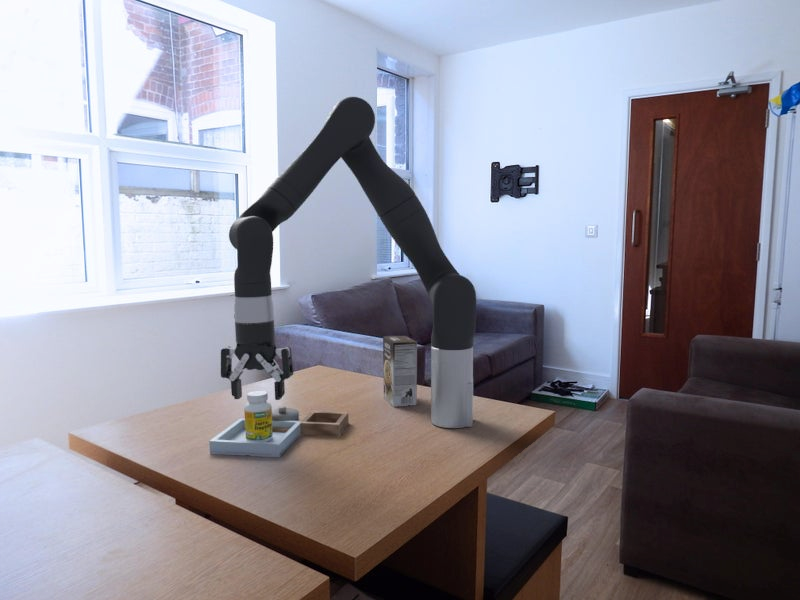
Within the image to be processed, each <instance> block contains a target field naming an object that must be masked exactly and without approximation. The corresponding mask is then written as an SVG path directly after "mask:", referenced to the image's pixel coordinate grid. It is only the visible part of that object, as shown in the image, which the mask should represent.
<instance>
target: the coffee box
mask: <svg viewBox="0 0 800 600" xmlns="http://www.w3.org/2000/svg"><path fill="white" fill-rule="evenodd" d="M382 353H383V354H382V357H383V358H382V359H383V360H382V361H383V362H382V363H383V398H384V399H385V400H386V401H387V402H388V403H389V404H390V406H392V407H394V408H397V407H398V406H399V407H407V406H408V405H410V406H416V405H415V404H417V402H418V401H417V400H418V399H417V397H418V395H417V392H418V391H417V389H418V388H417V387H418V386H417V385H418V384H417V382H418V381H417V380H418V378H417V377H418V373H417V372H418V341H417V340H414V339H412V338H410V337H409V336H407V335H386V336H382ZM399 407H398V408H399ZM408 407H409V406H408Z"/></svg>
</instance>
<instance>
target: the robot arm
mask: <svg viewBox="0 0 800 600" xmlns="http://www.w3.org/2000/svg"><path fill="white" fill-rule="evenodd" d="M375 124H376V114H375V112H374V109H373V107H372V106H371V104H370V103H369V102H368V101H367V100H365V99H364V98H361V97H358V96H348V97H345V98H343V99H341V100H339V101H337V103H335V105H334V106H333V108H332V109H331V110H330V112H329V114H328V115H327V117H326V120H325V123H324V126H323V127H322V128H321V129H320V131H319V132H318V133H317V135H316V136H315V137H314V138H313V140H312V141H311V142H310V143H309V144H308V145H307V146H306V148H305V149H304V150H303V151H302V152H301V153H300V154H299V155H298V156H297V157H296V158H295V159H294V160H293V161H292V162H291V163H290V164H289V165H288V166H287V167H286V168H285V169H284V170H283V171H282V172H281V173H280V174H279V175H278V176H277V178H275V180H274V181H273V182H272V183H271V184H270V185H269V186H268V188H266V189H265V191H264V192H263V193H262V195H261V196H260V197H259V198H258V199H257V200H256V201H255V202H253V203H252V204H251V205H250V206H249V207H248V208H247V209H246V210H244V211H243V212H242V213H241V214H240V215H239V216H238V217H237V218H236V219H235V220H234V222H233V223H232V224H231V226H230V228H229V231H228V240H229V242H230V244H231V246H232V247H233V248H234V249H235V250H236V251H237V267H236V269H235V270H234V274H233V275H234V276H233V278H234V279H233V283H234V287H233V288H234V308H233V310H234V314H233V318H234V329H235V331H234V332H235V342H236V346H235V347H232V346H229V345H228V346H225V347H223V348H221V350H220V377H221V378H222V379H228V380H229V381H230V390H231V392H230V393H231V396H232V397H233V398H234V400H239V399H241V398H242V396H243V390H242V387H243V386H242V378H240V377H241V376H242V374H243V373H244V372H245V370H247V371H252V370H258V371H263V370H265V371H266V372H267V373H268V374H269V375H270V376H271V377H272V378H273V379H274V382H273V383H274V399H275V401H280V400H281V399H282V398H283V397H284V396H285V393H286V392H285V389H286V388H285V387H286V386H285V380H288V379H289V378H291V377H292V376H293V375H294V367H293V366H294V365H293V355H292V348H291V346H286V347H282V348H277V346H276V344H275V343H276V336H275V335H276V334H275V331H276V330H275V315H274V314H275V313H274V312H275V311H274V302H273V296H272V295H273V294H272V279H271V268H272V265H273V263H272V262H273V261H272V260H273V254H274V253H273V252H274V235H273V234H274V233H273V232H274V231H275V230H276V229H277V228H278V226H280V225H281V224H283V223H285V222H286V221H288V220H289V219H290V218H291V217H292V216H293V215H294V214H295V213H296V212H297V211H299V208H301V206H302V205H303V204H304V203H305V202H306V200H307V199H308V198H309V197H310V196H311V194H312V193H313V192H314V191H315V189H316V188H317V187H318V186H319V184H320V183H321V182H322V180H323V179H324V178H325V176H326V175H327V174H328V173H329V171H331V169H332V168H333V167H334V165H335V164H336V163H338V161H339V160H340V159H342V160H343V162H344V163H345V164H346V166H347V167H348V168H349V170H350V171H351V172H352V174H353V175H354V177H355V178H356V180H357V181H358V183H359V185H360V187H361V189H362V191H363V192H364V194H365V195H366V197H367V199H368V201H369V203H370V204H371V206H372V207H373V209H374V210H375V212H376V214H377V215H378V218H379V219H380V221H381V222H382V224H383V226H384V228H385V229H386V230H387V232H388V233H389V235H390V236H391V238H392V239H393V241H394V242H395V244H396V245H397V246H398V247H399V249H400V251H402V253H403V254H404V255H405V256H406V258H407V259H408V260H409V262H410V263H411V264H412V266H413V267H414V269H415V271H416V273H417V274H418V276H419V278H420V281H421V283H422V285H423V286H424V287H423V288H425V291H426V293H427V295H428V297H429V299H430V302H431V304H432V305H433V307H432V308H433V309H432V310H433V314H432V315H433V316H432V317H433V318H432V319H433V321H432V332H431V336H430V337H431V338H430V340H431V341H430V345H431V347H430V361H431V362H430V366H431V367H430V369H431V370H430V381H431V382H430V397H431V398H430V416H431V417H430V419H431V421H430V422H431V424H432V425H435V426H437V427H439V428H446V429H460V428H468V427H469V428H470V427H471V428H472V427H473V421H474V376H473V375H474V337H475V334H476V326H477V325H476V323H477V322H476V321H477V292H476V289H475V286H474V284H473V283H472V281H471V280H470V279H468V278H467V277H466V276H463V275H461V274H460V273H459V271H458V270H457V269H456V268H455V267H454V265H453V264H452V263H451V261H450V260H449V258H448V257H447V255H446V254H445V252H444V250H443V248H442V247H441V245H440V243H439V240H438V238H437V235H436V232H435V230H434V226H433V224H432V222H431V219H430V217H429V216H428V213H427V211H426V210H425V207H424V206H423V204H422V202H421V201H420V199H419V198H418V196H417V195H416V193H415V191H414V190H413V189H412V187H411V186H410V185H409V183H408V182H407V181H406V180H405V179H404V178H402V177H401V176H400V174H398V173H396V172H395V171H394V170H393V169H392V168H390V166H389V165H387V163H386V162H385V161H384V160H383V158H382V157H381V156H380V154H379V151H377V149H376V147H375V145H374V144H373V141H372V139H371V137H370V136H371V135H372V133H373V131H374V128H375ZM276 356H278V357H279V359H280V360H281V362H282V369H281V368H280V365H279V363H278V362H277V361H276V360H275V358H276ZM234 357H236V358H237V359H238V361H239V362H238V363H237V365H236V366H235V367H234V369H233V367H232V364H233V363H232V362H233V361H232V359H233V358H234Z"/></svg>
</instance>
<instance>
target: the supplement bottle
mask: <svg viewBox="0 0 800 600" xmlns="http://www.w3.org/2000/svg"><path fill="white" fill-rule="evenodd" d="M268 398H269V395H268V392H267V391H264V390H255V391H250V392H248V393H246V400H247V403H246V404H245V406H244V410H243V411H244V419H245V432H246V441H257V442H268V441H270V440H271V439H272V437H273V431H272V410H273V409H272V404H271V403H270V402H269V401H268Z"/></svg>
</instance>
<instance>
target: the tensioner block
mask: <svg viewBox="0 0 800 600" xmlns="http://www.w3.org/2000/svg"><path fill="white" fill-rule="evenodd" d="M299 412H300V411H299V410H298V409H296V408H291V407H287V406H285V405H283V406H282V405H281V406H279V407H278V408H274V409H272V420H273V421H285V420H287V421H301V422H300V423H301V435H302V436H305V435H306V436H322V437H323V436H325V437H326V436H327V437H340V436H341V434H342V433H343V432H344V430H345V429H346V428H347V426H348V425H349V423H350V422H349V421H350V420H349V412H348V411H347V412H345V411H325V410H323V411H321V410H311V411H310V412H309V413H308V414H300V413H299ZM289 429H290V428H276V427H272V431H273V432H287V431H288V430H289ZM301 435H300V436H301Z"/></svg>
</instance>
